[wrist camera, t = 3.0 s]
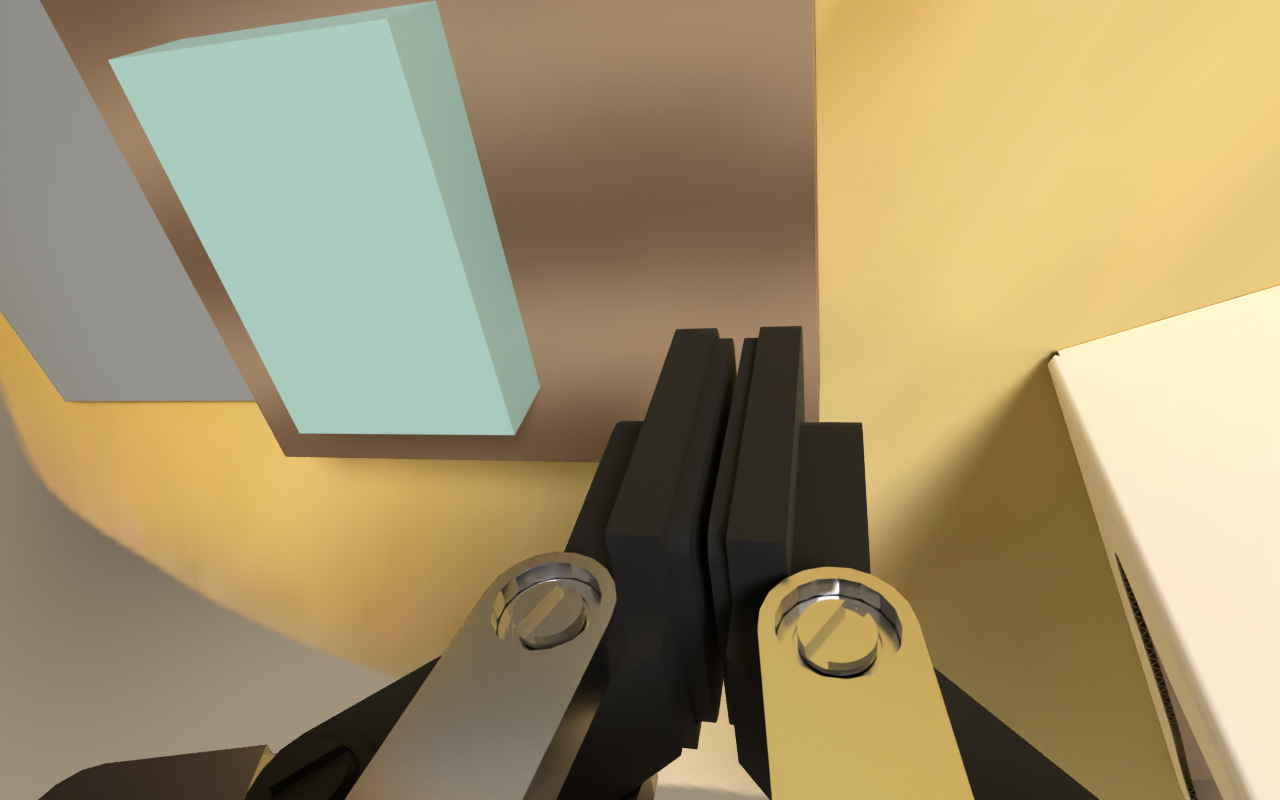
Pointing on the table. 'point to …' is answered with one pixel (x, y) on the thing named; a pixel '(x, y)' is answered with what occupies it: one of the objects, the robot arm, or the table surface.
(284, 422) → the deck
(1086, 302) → the table surface
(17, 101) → the mat
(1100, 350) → the gable box
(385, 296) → the block
